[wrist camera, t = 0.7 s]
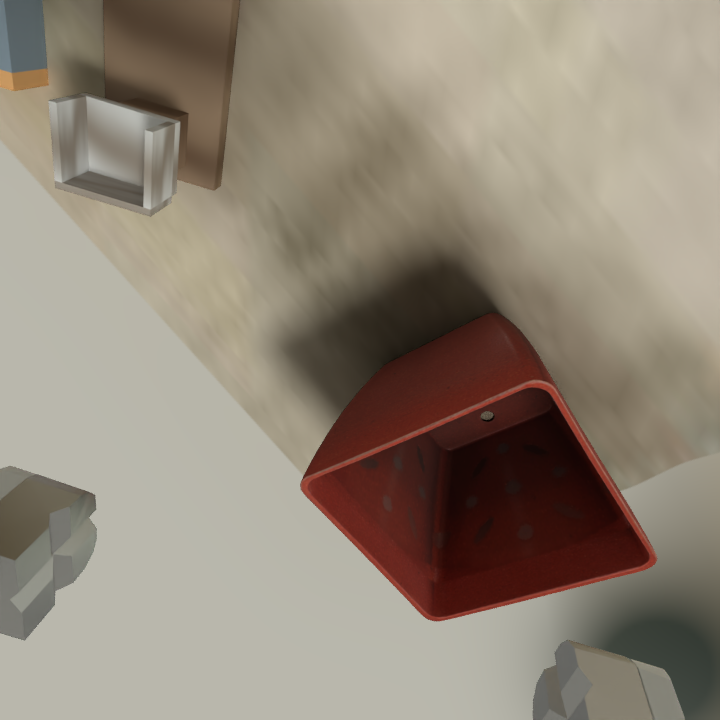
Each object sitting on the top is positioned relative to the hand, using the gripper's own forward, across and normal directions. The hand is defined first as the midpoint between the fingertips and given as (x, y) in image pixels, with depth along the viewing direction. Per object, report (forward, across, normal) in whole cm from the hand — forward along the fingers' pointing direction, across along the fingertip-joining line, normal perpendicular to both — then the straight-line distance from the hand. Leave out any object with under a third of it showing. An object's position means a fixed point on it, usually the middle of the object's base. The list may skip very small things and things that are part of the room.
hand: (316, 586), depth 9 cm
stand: (+35, +22, -9) cm, 42 cm away
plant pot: (+40, -8, +16) cm, 44 cm away
